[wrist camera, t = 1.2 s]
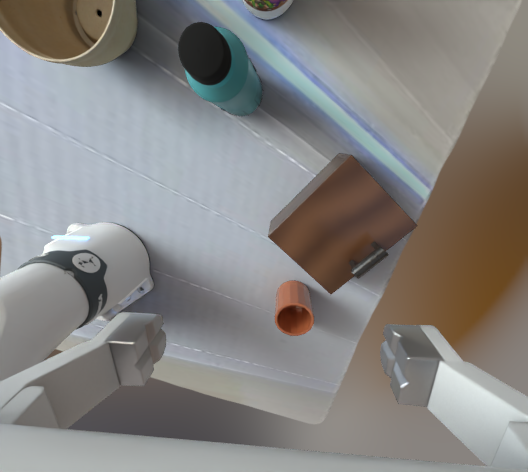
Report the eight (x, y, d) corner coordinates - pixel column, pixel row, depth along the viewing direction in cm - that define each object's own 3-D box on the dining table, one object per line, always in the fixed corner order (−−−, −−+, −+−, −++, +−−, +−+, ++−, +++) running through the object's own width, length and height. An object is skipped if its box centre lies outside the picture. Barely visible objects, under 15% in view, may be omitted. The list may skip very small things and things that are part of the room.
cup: (293, 314, 51) (294, 342, 44) (269, 294, 50) (266, 319, 43) (317, 295, 49) (322, 320, 42) (293, 274, 48) (294, 296, 41)
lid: (415, 224, 36) (432, 235, 32) (330, 291, 41) (335, 309, 36) (350, 154, 34) (359, 155, 29) (268, 234, 38) (265, 246, 34)
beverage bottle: (273, 88, 38) (259, 33, 20) (248, 128, 40) (214, 113, 22) (236, 59, 38) (186, -26, 19) (213, 101, 40) (146, 62, 21)
